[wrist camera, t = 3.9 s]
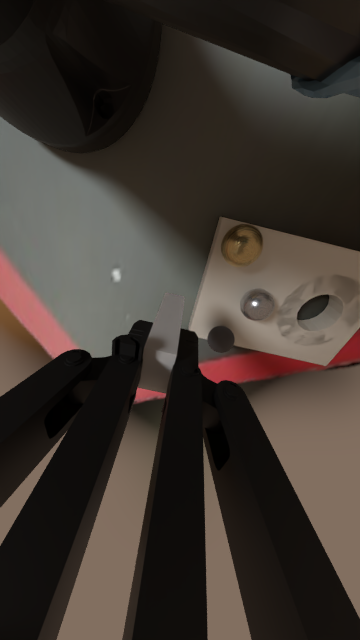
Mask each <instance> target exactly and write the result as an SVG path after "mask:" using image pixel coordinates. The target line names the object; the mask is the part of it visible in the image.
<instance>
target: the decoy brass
mask: <svg viewBox="0 0 360 640" xmlns="http://www.w3.org/2000/svg"><path fill="white" fill-rule="evenodd" d="M262 250H263V237H262V234H261V232H260V231H259V230H258V229H257V228H256V227H255V226H253V225H250V224H239V225H236V226H234V227H232V228H231V229H230V230H229V231H228V232H227V233H226V234H225V236H224V237H223V240H222V243H221V253H222V256H223V258H224V260H225V261H226V262H227V263H228V264H230V265H231V266H234V267H246V266H248V265H250V264H252V263H254V262H255V261H256V260H257V259H258V258H259V256H260V254H261V252H262Z"/></svg>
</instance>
